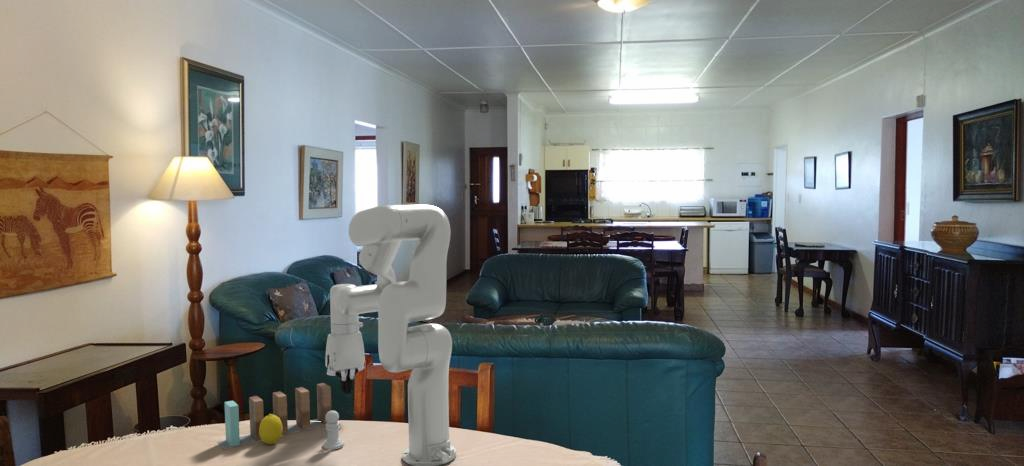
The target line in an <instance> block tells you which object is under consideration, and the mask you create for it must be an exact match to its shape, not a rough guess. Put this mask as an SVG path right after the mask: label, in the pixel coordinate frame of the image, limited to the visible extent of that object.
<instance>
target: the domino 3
mask: <svg viewBox="0 0 1024 466" xmlns="http://www.w3.org/2000/svg"><path fill="white" fill-rule="evenodd" d="M294 391H295V394H294V395H295V421H296V422H295V424H296V425H297V426H299V427H300V428H301V429H303V431H305V430H304V429H308V428H310V421H311V407H310V406H311V405H310V404H311V403H310V402H311V400H310V391H309V390H308V389H306V388H305V387H303V386H301V387H300V386H299V387H295V388H294ZM308 430H309V429H308Z"/></svg>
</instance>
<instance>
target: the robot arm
mask: <svg viewBox="0 0 1024 466" xmlns="http://www.w3.org/2000/svg"><path fill="white" fill-rule="evenodd" d="M348 236H349V239H350V241H351V243H353V244H354V245H355V246H356V247H357V246H358V247H362V248H361V251H360V252H359V255H358V261H359V264H360V266H361V267H363V269H364V270H366V271H367V272H369V273H370V274H373V275H375V276H379V278H378V279H377V281H376V282H375V284H366V285H365V284H364V285H358V286H357V285H356V284H353V283H340V284H338V283H337V284H335V285H332V286H331V288H330V289H329V299H330V300H329V304H330V332H331V333H329V334H327V339H326V347H325V362H324V363H325V367H326V368H327V370H326V375H328V376H333V377H335V376H336V377H337V378H338V379H339V385H340V388H339V389H340V392H341V393H342V394H343V395H351V394H353V393H352V392H353V391H352V390H353V387H354V385H353V383H354V382H353V380H354V379H355V376H356V375H357V374H358V372H360V371H363V370H365V368H366V367H365V362H366V361H365V360H366V359H365V357H366V356H365V347H364V346H365V345H364V340H363V336H362V335H363V334H362V332H361V331H360V328H363V326H364V322H362V321H359V315H361V314H366V313H367V314H368V313H375V312H377V314H378V315H377V316H378V318H377V321H378V322H377V331H378V332H377V345H378V346H377V347H378V348H377V349H378V350H377V351H378V356H379V361H380V364H381V366H382V367H383V368H384V369H385V371H387V372H390V373H401V372H405V371H410V370H412V371H411V373H410V375H409V379H408V383H407V414H408V418H407V419H408V447H407V448H405V449H404V450H403V452H402V461H404V463H406V464H407V465H409V466H442V465H446V464H447V463H449V462H452V461H453V460H454V459H455V458H456V457H457V449H456V448H455V447H454V446H453V445H452V444H451V440H450V418H449V416H450V411H449V409H450V408H449V407H450V406H449V405H450V404H449V370H450V363H451V357H452V350H453V339H452V335H451V333H450V331H449V329H447V328H446V327H445V326H443V325H442V324H438V323H424V324H419V325H413V326H409V324H411V323H416V322H421V321H426V320H433V319H436V318H439V317H441V316H442V315H443V314H444V312H445V310H446V304H447V261H448V251H449V247H450V241H451V225H450V221H449V217H448V216H447V214H446V213H445V212H444V210H443V209H441V208H440V207H437V206H435V205H431V204H423V203H420V204H418V203H416V204H413V203H411V204H387V205H384V204H383V205H379V206H374V207H372V208H371V207H370V208H367V209H364V210H360V211H358V212H356V213H355V214H354V215H353V216H352V217H351V219H350V222H349V225H348ZM407 241H408V242H409V241H419V243H418V244H417V245H416V247H415V249H414V250H413V252H412V255H411V256H410V260H409V277H408V279H407V280H403V281H397V278H396V277H397V276H396V273H395V270H394V268H393V267H392V264H393V262H394V260H395V258H396V255H397V253H398V251H399V249H400V247H401V244H402V242H407Z"/></svg>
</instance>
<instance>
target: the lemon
mask: <svg viewBox="0 0 1024 466" xmlns="http://www.w3.org/2000/svg"><path fill="white" fill-rule="evenodd" d="M282 432H283V426H282V422H281V420H280V418H279V417H277V416H276V415H273V413H269V414H268V415H265V416H264V418H263V419H262V421H261V423H260V427H259V435H260V438H261V441H262V442H263V443H265V444H268V445H269V446H273V445H274V444H275V443H277V442H278V441H279V440H280V439H281V437H282V436H283V435H282ZM281 435H282V436H281Z"/></svg>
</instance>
